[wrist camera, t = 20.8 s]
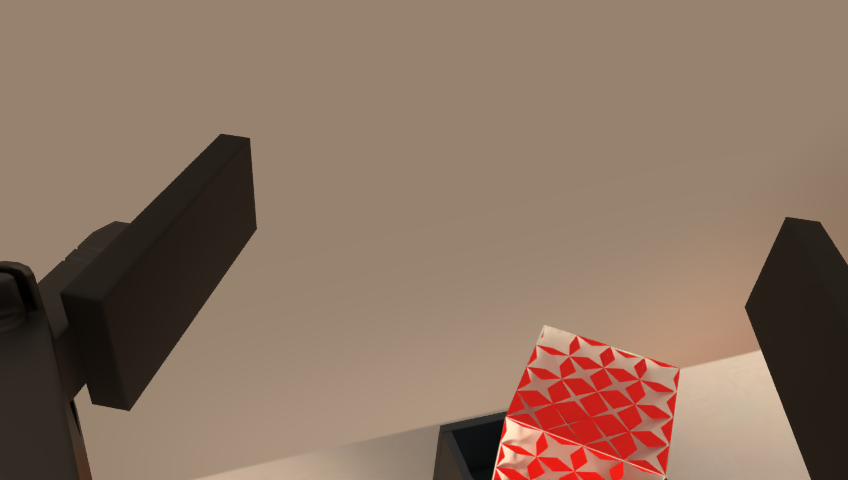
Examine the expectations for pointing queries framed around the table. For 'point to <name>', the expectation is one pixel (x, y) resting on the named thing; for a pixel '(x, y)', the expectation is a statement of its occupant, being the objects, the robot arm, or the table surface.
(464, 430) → the bin
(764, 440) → the table surface
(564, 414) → the red patterned cube
